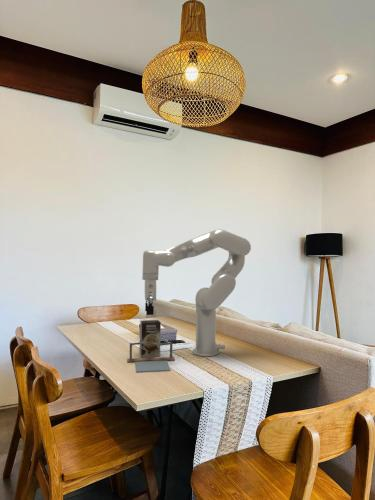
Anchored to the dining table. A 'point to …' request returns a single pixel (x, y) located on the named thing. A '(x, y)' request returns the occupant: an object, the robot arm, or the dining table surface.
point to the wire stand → (133, 360)
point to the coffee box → (150, 338)
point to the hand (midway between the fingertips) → (149, 312)
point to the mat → (152, 366)
